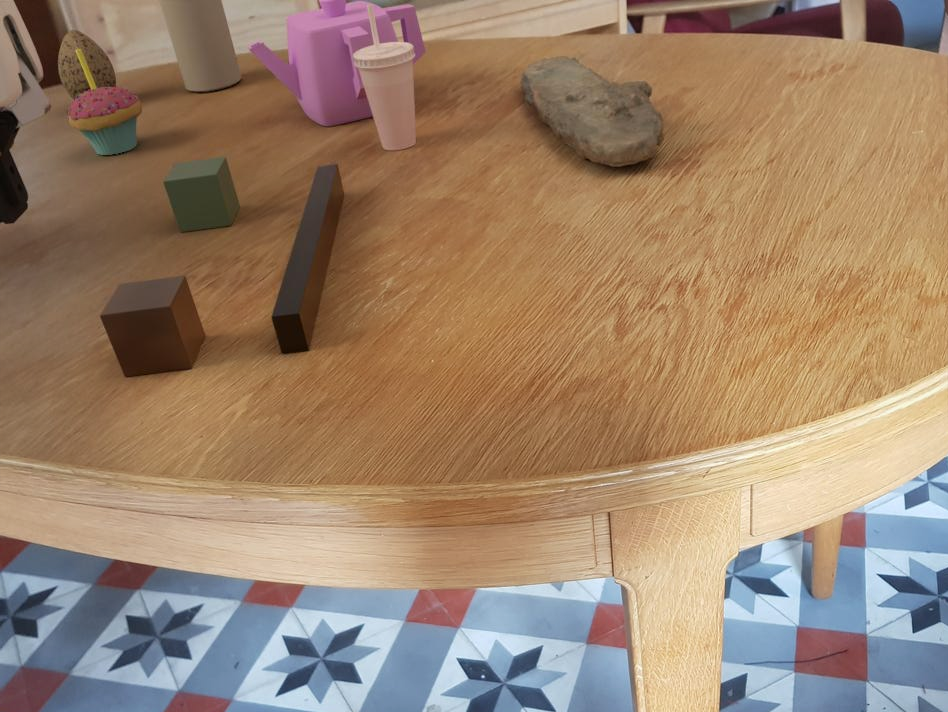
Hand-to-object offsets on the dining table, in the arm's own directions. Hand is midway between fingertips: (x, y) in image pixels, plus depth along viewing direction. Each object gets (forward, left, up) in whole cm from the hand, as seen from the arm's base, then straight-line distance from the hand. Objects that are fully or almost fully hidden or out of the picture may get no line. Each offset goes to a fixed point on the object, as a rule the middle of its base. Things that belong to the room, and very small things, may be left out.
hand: (9, 216), depth 63 cm
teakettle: (+16, +60, -12) cm, 63 cm away
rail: (+17, +14, -12) cm, 25 cm away
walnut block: (+7, 0, -12) cm, 14 cm away
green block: (+5, +27, -12) cm, 30 cm away
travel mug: (-5, +80, -12) cm, 81 cm away
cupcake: (-12, +55, -12) cm, 58 cm away
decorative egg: (-21, +77, -12) cm, 81 cm away
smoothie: (+23, +42, -12) cm, 49 cm away
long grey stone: (+43, +41, -12) cm, 61 cm away
